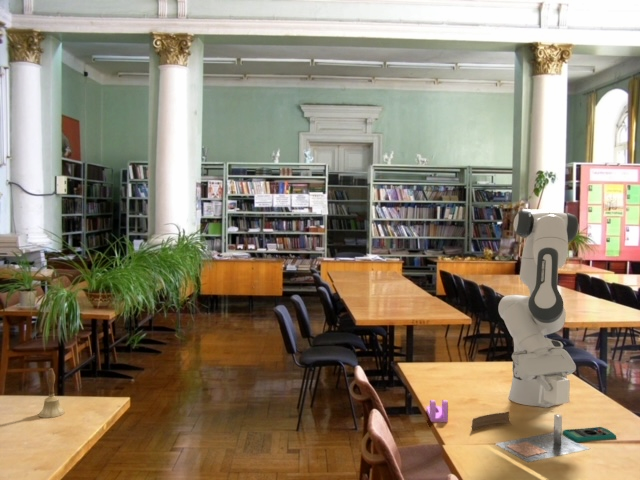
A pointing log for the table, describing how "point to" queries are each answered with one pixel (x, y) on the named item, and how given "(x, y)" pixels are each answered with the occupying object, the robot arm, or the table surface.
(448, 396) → the table surface
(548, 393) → the sleeve
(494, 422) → the brown bark piece
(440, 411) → the bracket
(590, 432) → the digital multimeter
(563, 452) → the post plate
